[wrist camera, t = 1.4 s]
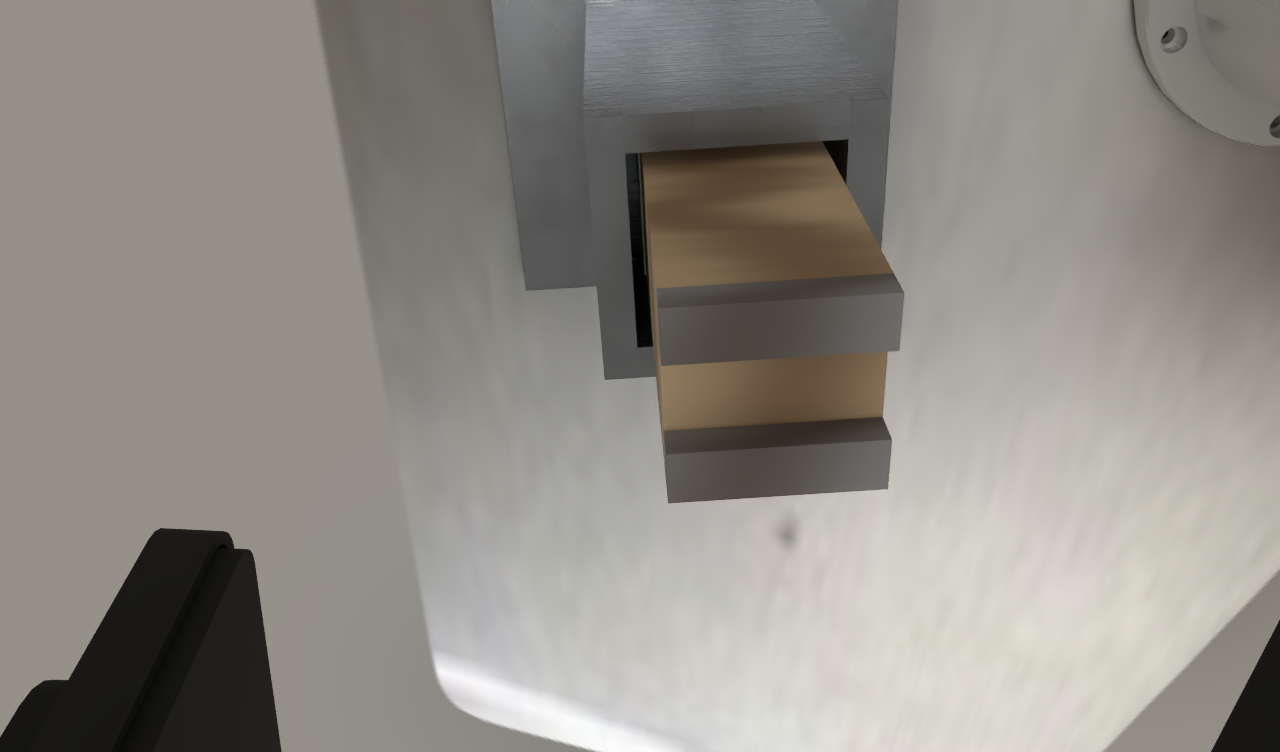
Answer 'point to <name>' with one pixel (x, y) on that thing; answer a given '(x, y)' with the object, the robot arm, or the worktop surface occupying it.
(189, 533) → the robot arm
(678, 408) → the column
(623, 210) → the stand
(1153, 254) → the worktop surface
